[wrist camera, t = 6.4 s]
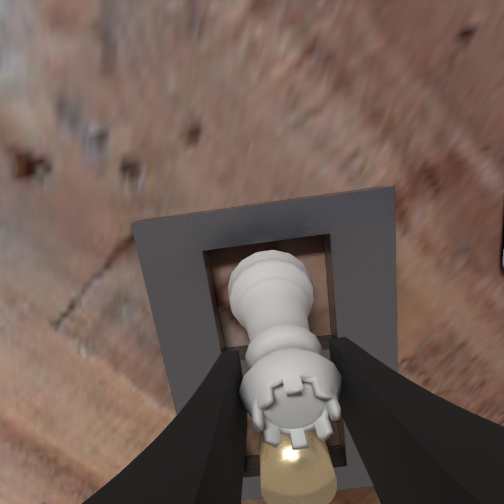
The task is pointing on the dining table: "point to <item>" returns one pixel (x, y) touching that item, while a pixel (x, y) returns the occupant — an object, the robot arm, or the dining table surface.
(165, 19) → the dining table surface
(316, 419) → the rook chess piece
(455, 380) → the dining table surface
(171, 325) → the bolt plate
